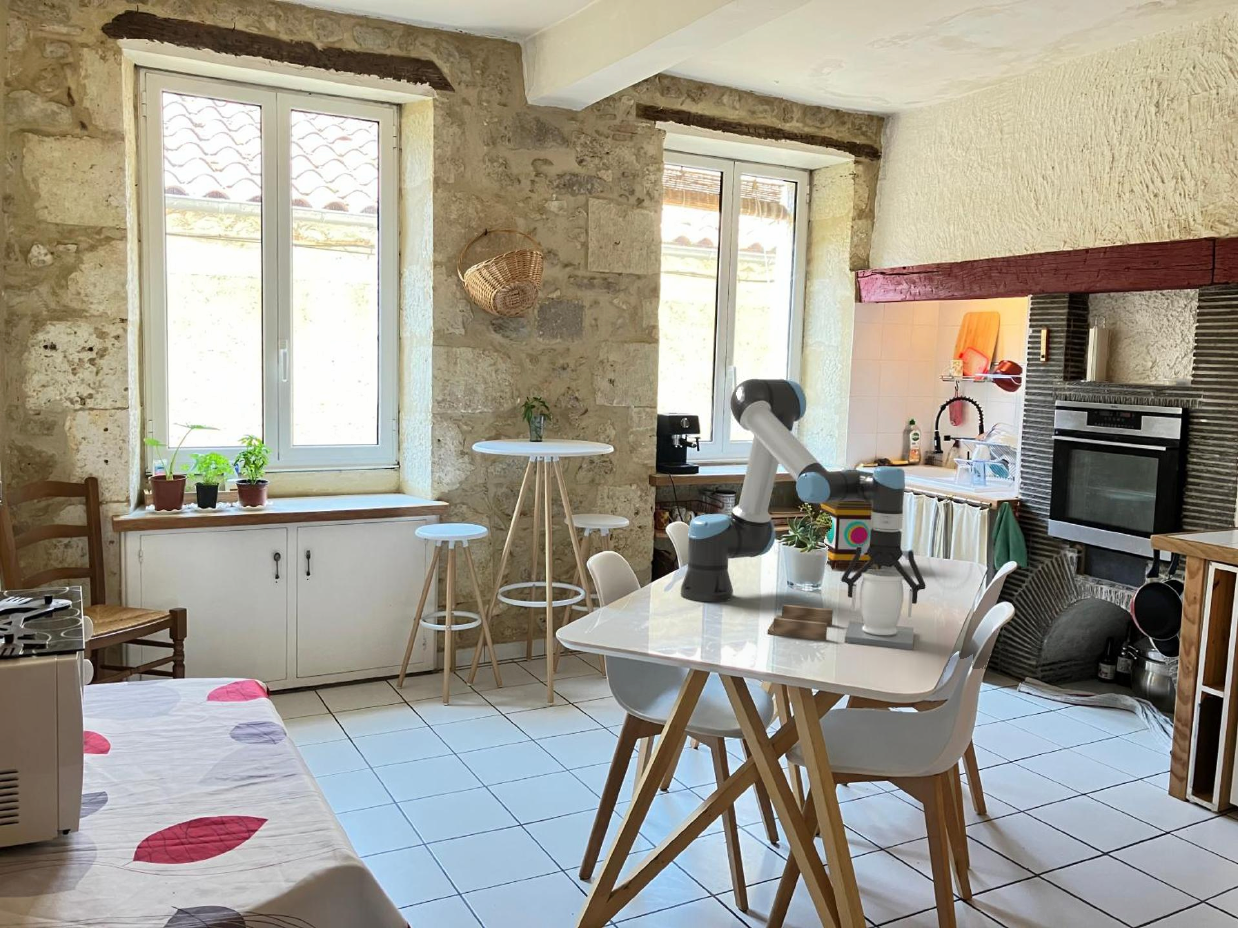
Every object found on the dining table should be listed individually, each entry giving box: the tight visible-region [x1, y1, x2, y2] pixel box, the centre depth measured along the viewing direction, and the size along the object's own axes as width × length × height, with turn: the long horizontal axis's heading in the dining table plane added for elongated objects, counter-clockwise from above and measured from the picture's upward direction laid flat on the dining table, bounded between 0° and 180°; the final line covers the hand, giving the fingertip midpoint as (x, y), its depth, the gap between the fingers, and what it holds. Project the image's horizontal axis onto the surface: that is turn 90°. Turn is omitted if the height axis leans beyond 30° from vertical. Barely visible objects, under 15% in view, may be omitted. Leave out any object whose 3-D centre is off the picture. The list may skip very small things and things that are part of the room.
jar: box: [859, 568, 905, 636], centre depth 246 cm, size 11×10×15 cm
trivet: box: [844, 620, 915, 650], centre depth 247 cm, size 16×16×2 cm
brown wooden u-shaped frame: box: [766, 604, 834, 641], centre depth 253 cm, size 14×16×4 cm
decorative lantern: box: [819, 501, 882, 571], centre depth 337 cm, size 20×20×30 cm
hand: (881, 613), depth 246 cm, fingers open, 13 cm apart
